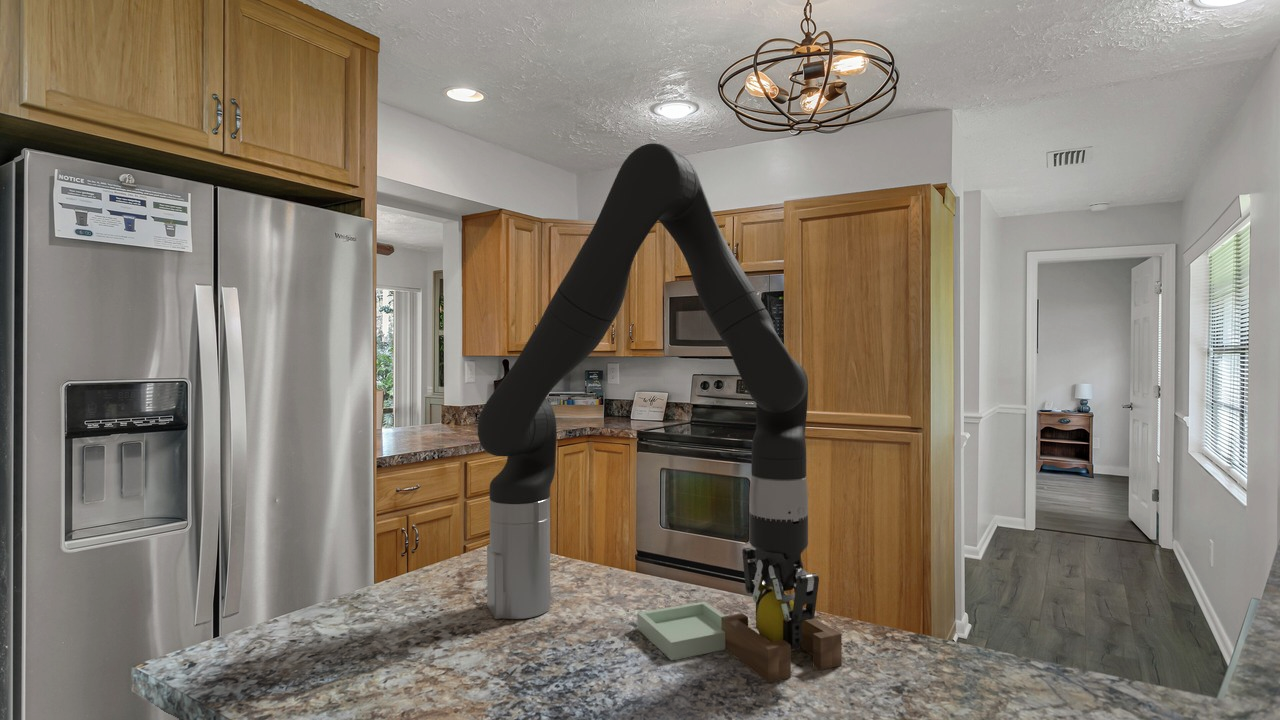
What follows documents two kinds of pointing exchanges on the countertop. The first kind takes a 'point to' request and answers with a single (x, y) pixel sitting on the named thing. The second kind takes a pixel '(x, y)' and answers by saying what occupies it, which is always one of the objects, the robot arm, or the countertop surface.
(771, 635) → the lemon
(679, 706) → the countertop surface
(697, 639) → the dish
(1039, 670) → the countertop surface
